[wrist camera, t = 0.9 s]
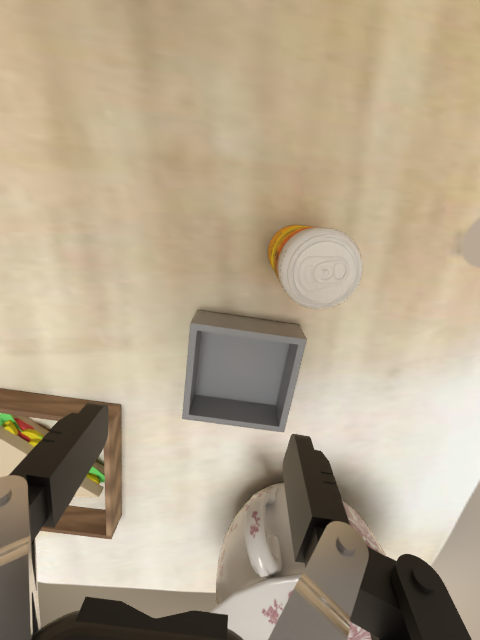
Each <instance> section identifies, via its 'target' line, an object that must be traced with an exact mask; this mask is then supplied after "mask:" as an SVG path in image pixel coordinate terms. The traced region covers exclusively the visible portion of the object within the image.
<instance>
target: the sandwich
mask: <svg viewBox="0 0 480 640" xmlns="http://www.w3.org/2000/svg"><path fill="white" fill-rule="evenodd" d="M47 433H49V431H48V430H46V429H45V428H43V427H42V426H40V425H38V424H37V423H35V422H34V421H32V420H30V419H29V418H27V417H26V416H18V415H10V414H3V413H1V414H0V477H4V476H8V475H9V474H10V473H11V472H12V471H13V470H14V469H15V468H16V467H17V465H18V464H19V463H20V462H21V461H22V460H23V459H24V458H25V457H26V456H27V455H28V453H29V452H30V451H31V450H32V449H33V448H34V447H35V446H36V445H37V444H38V443H39V441H41V440H42V438H43V437H44V436H45V435H46V434H47ZM100 482H105V471H104V466H103V465H102V464H100V463H98V462H97V461H95V463H94V464H93V466H92V468H91V469H90V471H89V472H88V474H87V476H86V477H85V479H84V481H83V482H82V484H81V485H80V487H79V489H78V490H77V492H76V494H75V495H74V497H99V496H100V494H101V492H102V490H103V488H104V487H102V486H100V485H99V483H100Z"/></svg>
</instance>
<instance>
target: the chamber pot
mask: <svg viewBox="0 0 480 640" xmlns="http://www.w3.org/2000/svg"><path fill="white" fill-rule="evenodd" d="M342 502H343V505H344V508H345V511H346V514H347V517H348V520H349V523H350V525H351V527H353V528H354V529H355V530H356V531H357V532H358V533H359V534H360V535H361V536H362V538H363V539H364V541H365V543H366V545H367V546H368V547H370V548H371V549H373V550H375V551H377V552H379V553H381V554H383V555H385V553H384V551H383V550H382V548H381V546H380V545H379V543H378V541H377V540H376V538H375V537H374V535H373V533H372V532H371V530H370V529H369V527H368V526H367V524H366V523H365V522H364V520H363V519H362V517H361V516H360V515H359V513H358V512H356V511H355V510H354V509H353V508H352V507H350V506H349V505H348V504H347V503H345V502H344V501H343V500H342ZM385 556H386V555H385ZM304 570H305V563H301V562H295V559H294V552H293V545H292V538H291V530H290V523H289V516H288V509H287V502H286V494H285V487H284V482H282V483H277V484H273V485H271V486H268V487H266V488H264V489H262V490H260V491H258V492H257V493H256V494H254V495H253V496H252V497H251V498H250V499H249V500H248V501H247V502H246V503H245V504H244V505H243V507H242V508H241V510H240V511H239V512H238V514H237V515H236V517H235V518H234V520H233V521H232V523H231V525H230V527H229V529H228V531H227V533H226V535H225V538H224V542H223V545H222V549H221V553H220V557H219V561H218V569H217V580H216V602H217V606H216V607H214V608H213V609H212V610H211V611H210V613H217V614H225V615H228V629H230V630H232V631H234V632H235V633H236V634H238V635H239V636H240V637H242V638H243V639H244V640H268V639H269V637H270V635H271V633H272V631H273V629H274V627H275V625H276V623H277V621H278V619H279V617H280V615H281V613H282V611H283V609H284V607H285V605H286V603H287V601H288V599H289V597H290V595H291V593H292V591H293V589H294V587H295V585H296V583H297V582H298V580H299V578H301V576H302V574H303V572H304ZM349 625H350V631H349V635H348V638H347V640H372V639H371V635H370V633H369V632H367V631H366V630H364V629H362V628H360V627H359V626H357V625H355V624H353V623H352V622H350V621H349Z"/></svg>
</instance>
